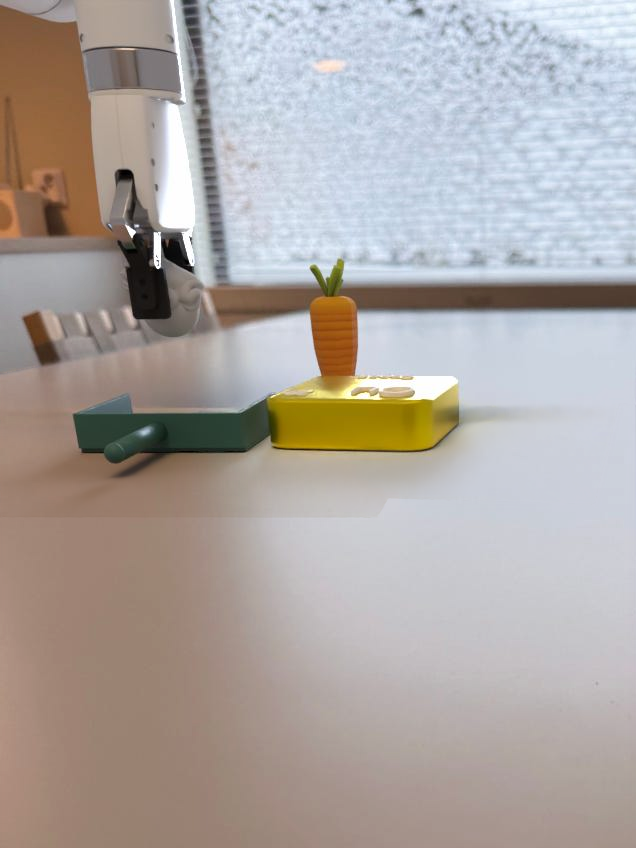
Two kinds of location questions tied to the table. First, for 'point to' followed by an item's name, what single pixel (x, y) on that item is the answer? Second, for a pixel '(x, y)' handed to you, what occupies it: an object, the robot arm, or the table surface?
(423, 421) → the element tile
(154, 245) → the robot arm
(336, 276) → the carrot
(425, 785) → the table surface
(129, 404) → the scoop
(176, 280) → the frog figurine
